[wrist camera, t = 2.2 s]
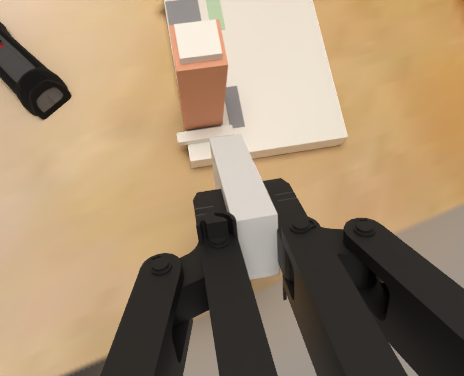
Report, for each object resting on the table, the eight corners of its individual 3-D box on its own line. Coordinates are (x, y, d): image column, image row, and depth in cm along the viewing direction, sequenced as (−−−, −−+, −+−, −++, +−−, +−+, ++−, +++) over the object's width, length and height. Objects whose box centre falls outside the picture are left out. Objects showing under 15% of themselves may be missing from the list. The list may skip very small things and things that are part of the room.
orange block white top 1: (185, 130, 31) (175, 65, 22) (179, 95, 32) (167, 18, 22) (222, 124, 31) (228, 58, 22) (216, 90, 32) (219, 12, 23)
